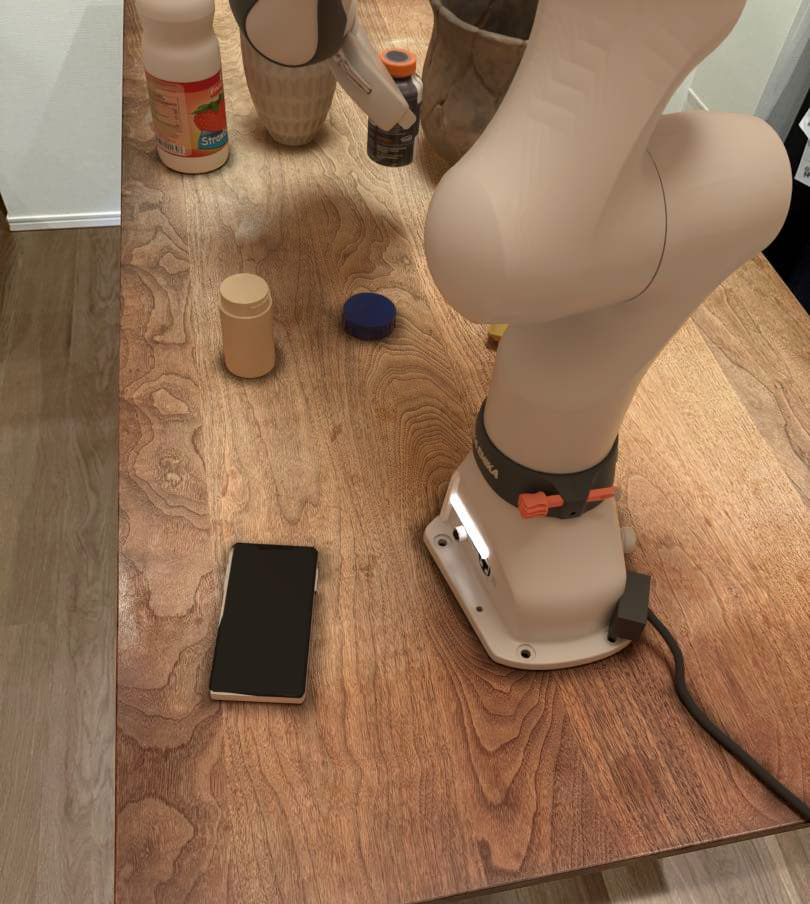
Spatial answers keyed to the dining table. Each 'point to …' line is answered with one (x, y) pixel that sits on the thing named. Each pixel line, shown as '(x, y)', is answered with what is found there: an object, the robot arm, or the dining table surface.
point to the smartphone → (265, 624)
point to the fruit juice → (184, 83)
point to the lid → (369, 316)
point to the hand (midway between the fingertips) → (400, 104)
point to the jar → (247, 325)
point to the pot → (470, 68)
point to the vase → (288, 96)
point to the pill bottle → (397, 142)
